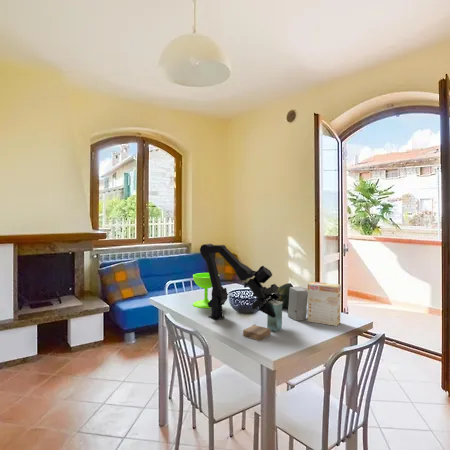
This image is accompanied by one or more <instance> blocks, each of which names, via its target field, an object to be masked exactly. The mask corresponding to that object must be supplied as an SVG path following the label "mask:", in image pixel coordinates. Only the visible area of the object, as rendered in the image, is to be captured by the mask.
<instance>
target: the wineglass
mask: <svg viewBox="0 0 450 450" xmlns="http://www.w3.org/2000/svg"><path fill="white" fill-rule="evenodd" d="M192 279H193V282H194V283H195V285H196V286H198V287H199V288H201V289H203V290H204V298H203V299H202V300H197V301H194V302H193V303H192V306H193V307H194V308H196V307H197V309H211V307H209V306H208V302H209V301H210V300H211V299H208V298H209V296H208V291H209V289H211V288H212V284H211V280H210V276H209V272H199V273H195V274H192Z"/></svg>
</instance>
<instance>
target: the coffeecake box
mask: <svg viewBox="0 0 450 450" xmlns="http://www.w3.org/2000/svg"><path fill="white" fill-rule="evenodd" d="M341 285H342V284H338V283H326V282H319V281H310V282H309V283H307V291H308V298H307V322H311V323H315V324H316V323H317V324H321V323H322V324H323V325H329V326H333V325H334V326H333V327H338V326H339V325H340V324H341V298H342V297H341V294H342V293H341V292H342V291H341V289H342V286H341ZM339 323H340V324H339ZM337 325H338V326H337Z"/></svg>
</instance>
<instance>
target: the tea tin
mask: <svg viewBox="0 0 450 450" xmlns="http://www.w3.org/2000/svg"><path fill="white" fill-rule="evenodd" d="M282 303H283V302H281V301H276V300H272V301H269V307H270V309H271V311H272V312H273V314H274V316H275V317H274V318H273V317H271V316H269V315H267V318H266V319H267V321H266V325H267V327H266V328H269V329H271V332H272V331H274V332H278V331H280V330H282V329H283V327H282V326H283V308H282Z"/></svg>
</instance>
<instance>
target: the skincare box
mask: <svg viewBox="0 0 450 450" xmlns="http://www.w3.org/2000/svg"><path fill="white" fill-rule="evenodd" d="M287 309H288V310H287V317H289V318H291V319H292V320H294V321H297V322H298V321H306V320H307V313H308V289H305V288H303V287H300V286H293V287H290V292H289V306H288V307H287Z"/></svg>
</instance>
